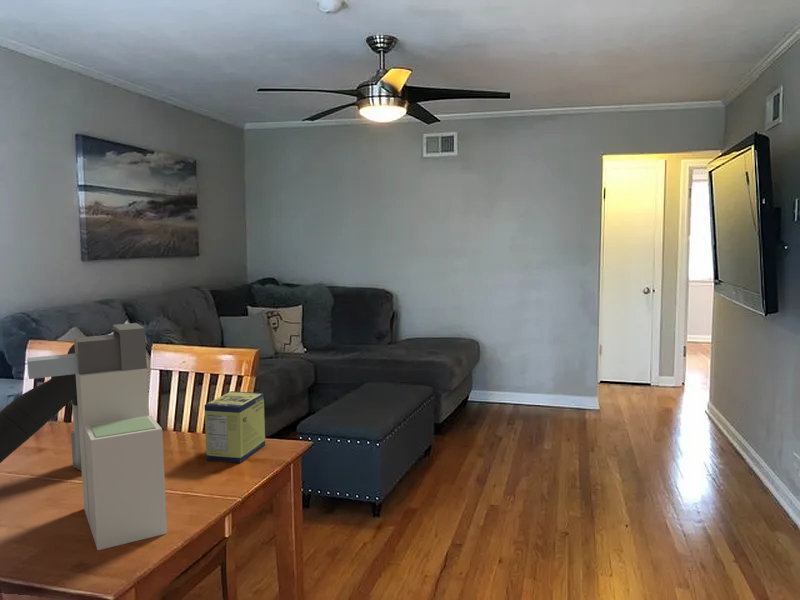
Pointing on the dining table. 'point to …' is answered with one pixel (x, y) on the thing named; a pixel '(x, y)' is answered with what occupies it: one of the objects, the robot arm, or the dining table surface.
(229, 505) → the dining table surface
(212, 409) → the protein box
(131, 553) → the dining table surface
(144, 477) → the grey stepped fixture
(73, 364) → the plug
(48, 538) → the dining table surface
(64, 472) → the dining table surface
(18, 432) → the robot arm
